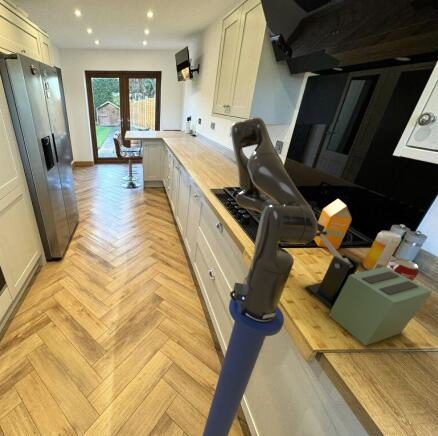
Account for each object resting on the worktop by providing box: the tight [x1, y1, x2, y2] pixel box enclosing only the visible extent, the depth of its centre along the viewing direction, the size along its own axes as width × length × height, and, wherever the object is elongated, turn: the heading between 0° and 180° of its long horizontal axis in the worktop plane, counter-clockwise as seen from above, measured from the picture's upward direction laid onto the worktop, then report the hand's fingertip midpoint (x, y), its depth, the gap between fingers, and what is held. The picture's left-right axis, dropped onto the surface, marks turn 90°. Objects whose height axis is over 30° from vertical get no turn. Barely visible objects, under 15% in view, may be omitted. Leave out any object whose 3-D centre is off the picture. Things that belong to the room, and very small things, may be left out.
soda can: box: [386, 257, 419, 281], centre depth 76 cm, size 7×7×12 cm
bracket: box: [305, 253, 362, 310], centre depth 72 cm, size 10×8×15 cm
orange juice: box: [313, 198, 353, 250], centre depth 102 cm, size 8×9×20 cm
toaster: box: [328, 267, 433, 347], centre depth 63 cm, size 10×14×15 cm
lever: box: [315, 231, 353, 269], centre depth 72 cm, size 13×5×2 cm, turn 17°
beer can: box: [362, 230, 402, 271], centre depth 87 cm, size 6×6×15 cm
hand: (313, 230), depth 78 cm, fingers open, 8 cm apart
